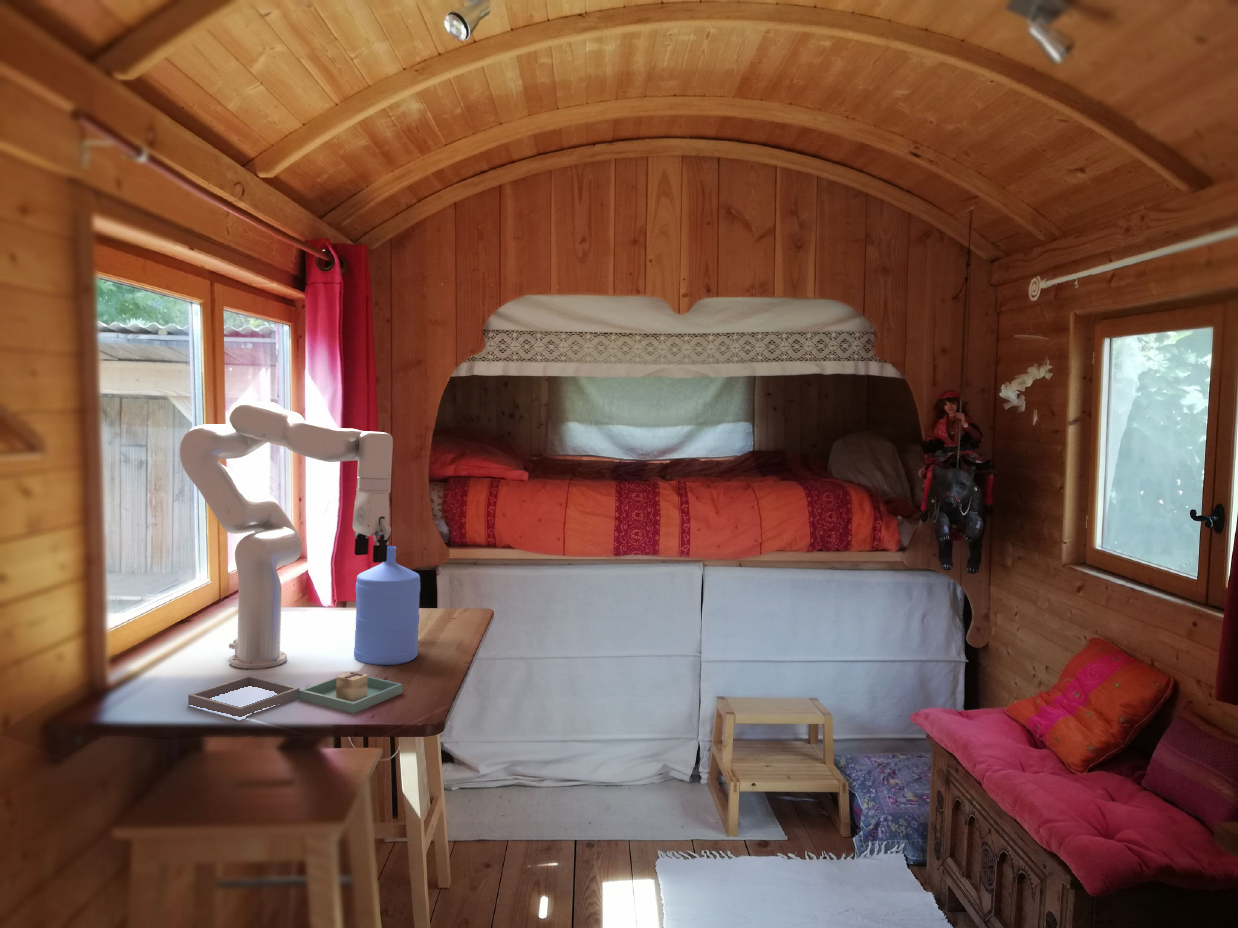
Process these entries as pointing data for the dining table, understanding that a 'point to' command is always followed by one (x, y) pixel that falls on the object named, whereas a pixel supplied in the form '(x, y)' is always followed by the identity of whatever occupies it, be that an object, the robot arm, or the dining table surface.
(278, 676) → the dining table surface
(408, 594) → the water jug
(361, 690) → the letter cube
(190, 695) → the brown tray
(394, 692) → the green tray
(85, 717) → the dining table surface
